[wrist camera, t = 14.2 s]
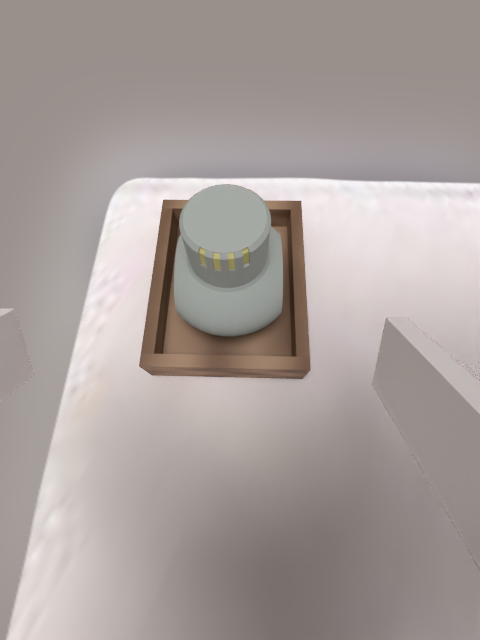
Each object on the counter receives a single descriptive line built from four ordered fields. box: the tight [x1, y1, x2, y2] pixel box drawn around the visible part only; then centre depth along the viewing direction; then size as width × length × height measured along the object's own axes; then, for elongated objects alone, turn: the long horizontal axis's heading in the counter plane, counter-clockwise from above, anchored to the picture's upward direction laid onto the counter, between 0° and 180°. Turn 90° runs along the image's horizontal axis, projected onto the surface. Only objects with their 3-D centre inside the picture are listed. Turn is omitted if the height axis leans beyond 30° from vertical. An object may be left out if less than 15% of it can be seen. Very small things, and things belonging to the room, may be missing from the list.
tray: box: [139, 200, 310, 379], centre depth 28 cm, size 13×16×4 cm
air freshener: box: [174, 184, 283, 337], centre depth 24 cm, size 11×8×10 cm
